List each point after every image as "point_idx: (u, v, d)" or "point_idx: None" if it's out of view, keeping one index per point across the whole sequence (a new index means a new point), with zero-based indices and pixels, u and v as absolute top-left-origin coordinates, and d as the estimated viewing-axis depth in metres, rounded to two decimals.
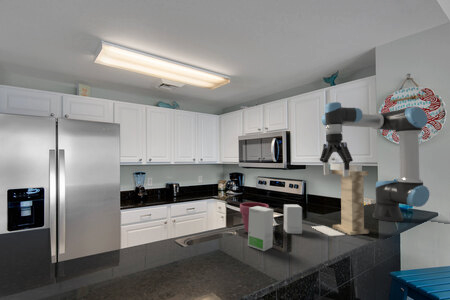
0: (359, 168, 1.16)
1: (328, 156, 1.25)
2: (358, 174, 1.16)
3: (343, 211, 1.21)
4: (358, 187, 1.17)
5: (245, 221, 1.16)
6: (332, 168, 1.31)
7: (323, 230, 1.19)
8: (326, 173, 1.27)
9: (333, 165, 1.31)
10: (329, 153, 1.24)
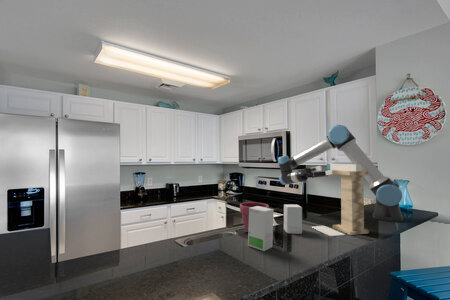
0: (359, 168, 1.16)
1: (319, 173, 1.50)
2: (358, 174, 1.16)
3: (343, 211, 1.21)
4: (358, 187, 1.17)
5: (245, 221, 1.16)
6: (332, 168, 1.31)
7: (323, 230, 1.19)
8: None
9: (333, 165, 1.31)
10: (316, 174, 1.50)
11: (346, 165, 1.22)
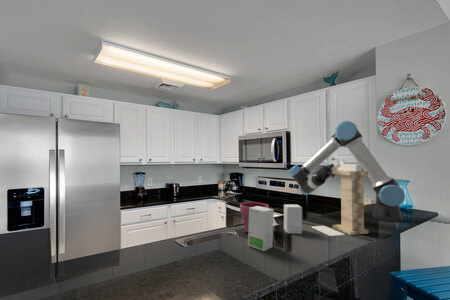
0: (359, 168, 1.16)
1: (331, 171, 1.37)
2: (358, 174, 1.16)
3: (343, 211, 1.21)
4: (358, 187, 1.17)
5: (245, 221, 1.16)
6: None
7: (323, 230, 1.19)
8: (342, 163, 1.28)
9: None
10: (329, 173, 1.38)
11: (346, 165, 1.22)
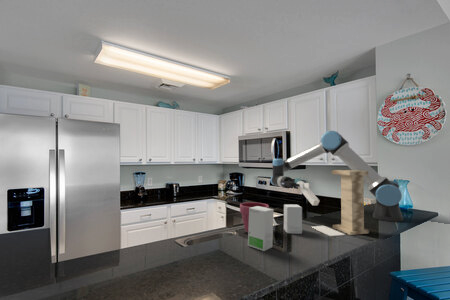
0: (316, 203, 1.29)
1: None
2: (358, 174, 1.16)
3: (343, 211, 1.21)
4: (358, 187, 1.17)
5: (245, 221, 1.16)
6: None
7: (323, 230, 1.19)
8: (307, 186, 1.38)
9: None
10: None
11: (308, 194, 1.33)
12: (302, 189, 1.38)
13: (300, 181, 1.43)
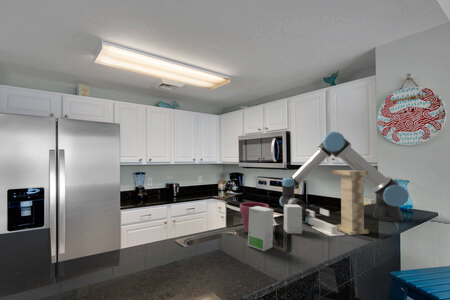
0: (334, 230, 1.14)
1: (314, 209, 1.35)
2: (358, 174, 1.16)
3: (343, 211, 1.21)
4: (358, 187, 1.17)
5: (245, 221, 1.16)
6: (310, 223, 1.30)
7: (323, 230, 1.19)
8: (327, 213, 1.26)
9: (311, 220, 1.29)
10: (310, 209, 1.36)
11: (323, 224, 1.20)
12: (315, 223, 1.25)
13: (311, 217, 1.32)
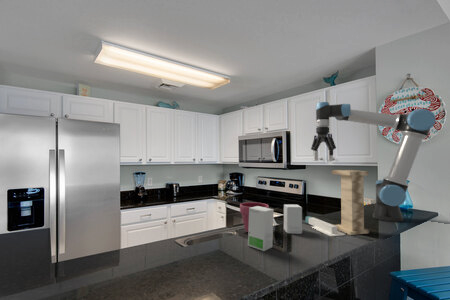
0: (334, 230, 1.14)
1: (317, 145, 1.55)
2: (358, 174, 1.16)
3: (343, 211, 1.21)
4: (358, 187, 1.17)
5: (245, 221, 1.16)
6: (310, 223, 1.30)
7: (323, 230, 1.19)
8: (315, 159, 1.57)
9: (311, 220, 1.29)
10: (318, 143, 1.54)
11: (323, 224, 1.20)
12: (315, 223, 1.25)
13: (311, 217, 1.32)
